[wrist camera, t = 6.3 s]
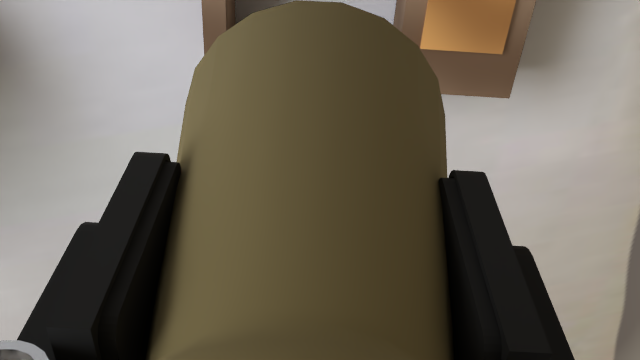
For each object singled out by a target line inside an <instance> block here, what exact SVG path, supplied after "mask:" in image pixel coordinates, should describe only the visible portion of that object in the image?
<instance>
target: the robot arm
mask: <svg viewBox="0 0 640 360" xmlns="http://www.w3.org/2000/svg"><path fill="white" fill-rule="evenodd" d="M180 174H181V166H180V163H179V162H171V161H170V157H169V155H168V154H164V153H147V152H135V153H134V155H133V156H132V158H131V160H130V162H129V164H128V166H127V168H126V170H125V172H124V174H123V176H122V178H121V180H120V182H119V184H118V186H117V188H116V190H115V192H114V194H113V196H112V198H111V200H110V202H109V204H108V206H107V207H106V209H105V211H104V213H103V215H102V217H101V219H100V221H99V223H92V222H85V223H83V224H81V225H80V226H79V228H78V229H77V231H76V232H75V234H74V236H73V238H72V240H71V242H70V243H69V245H68V247H67V249H66V251H65V253H64V254H63V256H62V258H61V260H60V262H59V264H58V265H57V267H56V269H55V271H54V273H53V275H52V276H51V278H50V280H49V282H48V284H47V286H46V287H45V289H44V291H43V293H42V295H41V297H40V298H39V300H38V302H37V304H36V306H35V308H34V309H33V311H32V313H31V315H30V317H29V319H28V320H27V322H26V324H25V326H24V328H23V330H22V332H21V333H20V335H19V337H18V339H17V340H15V341H0V360H145V359H146V352H147V346H148V340H149V333H150V327H151V321H152V314H153V308H154V303H155V298H156V292H157V287H158V282H159V277H160V272H161V267H162V261H163V256H164V251H165V246H166V241H167V236H168V230H169V225H170V220H171V215H172V210H173V205H174V199H175V194H176V190H177V186H178V182H179V178H180ZM439 187H440V194H441V201H442V210H443V221H444V233H445V244H446V256H447V267H448V279H449V290H450V302H451V313H452V325H453V347H454V360H575V359H574V357H573V354H572V352H571V350H570V347H569V345H568V342H567V340H566V337H565V335H564V332H563V330H562V327H561V325H560V322H559V320H558V318H557V315H556V313H555V310H554V308H553V305H552V303H551V300H550V298H549V295H548V293H547V290H546V288H545V285H544V283H543V281H542V278H541V276H540V273H539V271H538V268H537V266H536V263H535V261H534V258H533V256H532V254H531V252H530V251H529V249H528V248H526V247H525V246H512V244H511V241H510V238H509V235H508V233H507V230H506V227H505V225H504V222H503V219H502V217H501V214H500V211H499V209H498V206H497V203H496V201H495V198H494V195H493V193H492V190H491V187H490V184H489V182H488V179H487V176H486V175H485V173H484V172H475V171H458V170H453V171H451V173H450V175H449V178H440V179H439Z"/></svg>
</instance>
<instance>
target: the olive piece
mask: <svg viewBox="0 0 640 360" xmlns="http://www.w3.org/2000/svg"><path fill="white" fill-rule="evenodd" d="M177 162H179V163H180V166H181V174H180V178H179V182H178V186H177V190H176V194H175V199H174V205H173V210H172V215H171V220H170V225H169V230H168V236H167V241H166V246H165V251H164V256H163V261H162V267H161V272H160V277H159V282H158V287H157V292H156V298H155V303H154V308H153V314H152V321H151V327H150V333H149V340H148V346H147V352H146V359H145V360H454V347H453V325H452V313H451V302H450V290H449V279H448V267H447V256H446V244H445V233H444V221H443V210H442V201H441V194H440V187H439V179H440V178H447V158H446V131H445V113H444V108H443V102H442V97H441V92H440V87H439V81H438V78H437V76H436V75H435V73H434V71H433V70H432V68H431V67H430V65H429V63H428V62H427V60H426V58H425V57H424V55H423V53H422V52H421V50H420V49H419V47H418V45H417V44H415V43H414V42H413V41H412V40H411V39H409V38H408V37H407V36H406V35H404V34H403V33H402V32H401V31H399V30H398V29H397V28H396V27H394V26H393V25H392V24H391V23H389V22H388V21H387V20H386V19H384V18H382V17H379V16H377V15H374V14H371V13H369V12H366V11H363V10H361V9H358V8H355V7H352V6H350V5H347V4H344V3H339V2H315V1H293V2H290V3H286V4H283V5H279V6H275V7H272V8H268V9H265V10H261V11H257V12H254V13H252V14H250V15H249V16H247V17H246V18H245V19H243V20H242V21H240V22H239V23H237V24H236V25H234V26H233V27H231V28H230V29H228V30H227V31H226V32H224V33H223V34H221V35H220V36H218V37H217V39H216V40H215V42H214V43H213V44H212V46H211V47H210V48H209V50H208V51H207V53H206V54H205V55H204V57H203V58H202V60H201V61H200V62H199V64H198V65H197V67H196V68H195V71H194V75H193V78H192V82H191V86H190V90H189V94H188V97H187V101H186V105H185V112H184V118H183V124H182V131H181V137H180V143H179V150H178V156H177Z"/></svg>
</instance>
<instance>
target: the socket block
mask: <svg viewBox="0 0 640 360" xmlns="http://www.w3.org/2000/svg"><path fill="white" fill-rule="evenodd" d="M535 3H536V0H397V2H396V9H395V16H394V24H393V26H394V27H396V28H397V29H398V30H399V31H401V32H402V33H403V34H404V35H406V36H407V37H408V38H409V39H411V40H412V41H413V42H414V43H415V44H417V45H418V47H419V49H420V50H421V52H422V53H423V55H424V57H425V58H426V60H427V62H428V63H429V65H430V67H431V68H432V70H433V71H434V73H435V75H436V76H437V78H438V81H439V87H440V92H441V94H449V95H465V96H480V97H496V98H509V97H510V93H511V90H512V86H513V83H514V79H515V75H516V72H517V68H518V64H519V61H520V57H521V54H522V50H523V46H524V43H525V39H526V35H527V32H528V28H529V24H530V21H531V17H532V14H533V10H534V6H535ZM202 17H203V37H204V55H205V54H206V53H207V51H208V50H209V48H210V47H211V46H212V44H213V43H214V42H215V40H216V39H217V37H218V36H220V35H221V34H223V33H224V32H226V31H227V30H228V29H230V28H231V27H233V26H234V25H236V21H235V0H202Z"/></svg>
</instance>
